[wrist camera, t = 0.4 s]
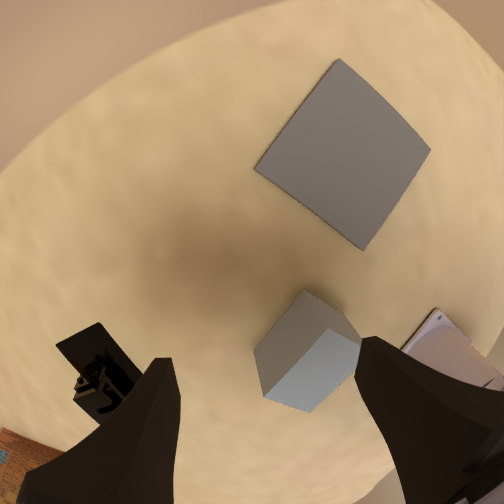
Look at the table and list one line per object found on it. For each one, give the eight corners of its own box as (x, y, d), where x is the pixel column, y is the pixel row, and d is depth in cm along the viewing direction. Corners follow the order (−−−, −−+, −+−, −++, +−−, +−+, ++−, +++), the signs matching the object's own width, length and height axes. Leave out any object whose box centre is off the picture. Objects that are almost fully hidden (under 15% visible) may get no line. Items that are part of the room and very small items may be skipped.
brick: (342, 312, 22) (371, 351, 17) (293, 368, 23) (309, 412, 18) (303, 288, 20) (328, 327, 16) (253, 349, 22) (263, 396, 17)
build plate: (188, 405, 24) (187, 445, 19) (128, 423, 24) (121, 460, 20) (97, 297, 19) (74, 334, 15) (40, 331, 20) (16, 365, 15)
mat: (426, 149, 18) (431, 149, 18) (359, 248, 20) (363, 251, 19) (335, 60, 16) (339, 58, 15) (253, 168, 17) (254, 169, 17)
